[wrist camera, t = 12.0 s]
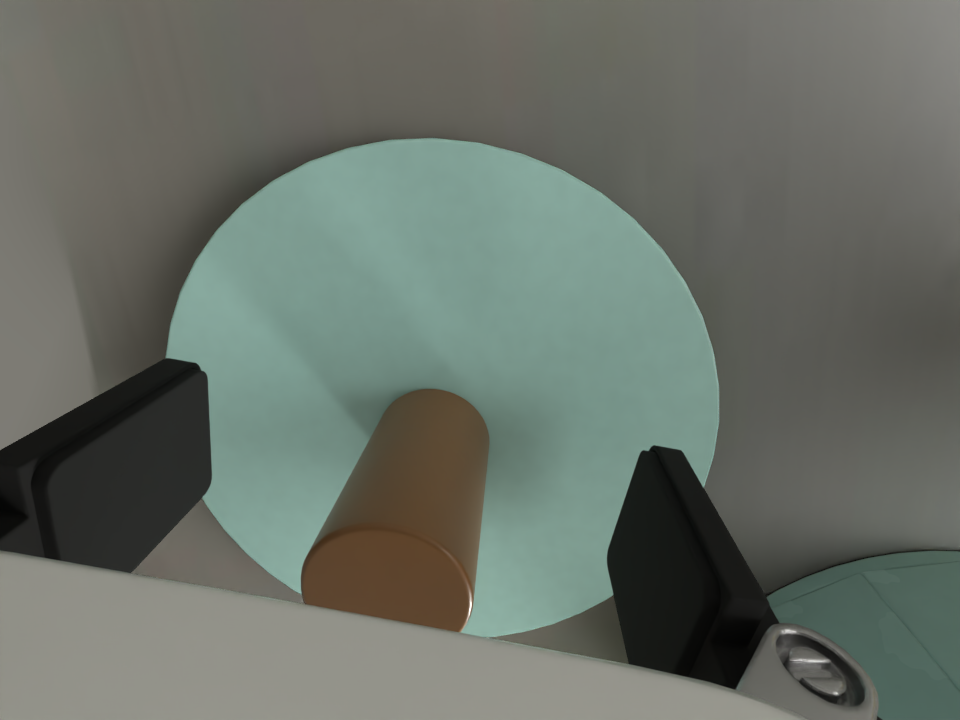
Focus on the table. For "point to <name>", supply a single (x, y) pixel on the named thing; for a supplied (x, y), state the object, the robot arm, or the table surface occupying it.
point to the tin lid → (439, 381)
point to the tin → (890, 626)
